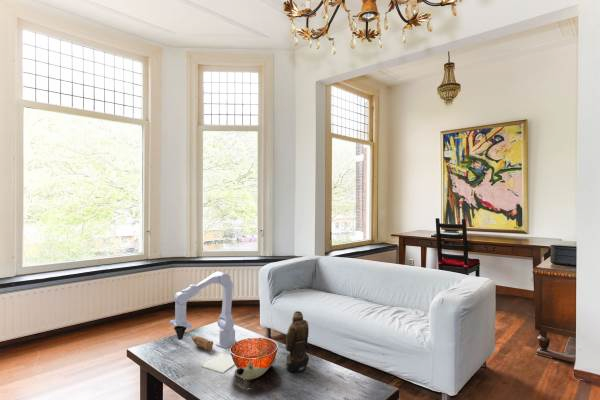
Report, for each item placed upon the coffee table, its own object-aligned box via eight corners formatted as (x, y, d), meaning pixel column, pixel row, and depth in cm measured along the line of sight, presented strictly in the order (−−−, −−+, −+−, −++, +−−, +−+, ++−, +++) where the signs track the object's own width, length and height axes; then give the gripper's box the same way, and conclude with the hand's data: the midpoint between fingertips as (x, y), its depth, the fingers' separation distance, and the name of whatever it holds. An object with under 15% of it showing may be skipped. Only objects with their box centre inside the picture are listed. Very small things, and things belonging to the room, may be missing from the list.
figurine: (213, 351, 197) (196, 353, 205) (216, 336, 202) (200, 339, 210) (201, 347, 192) (185, 349, 200) (205, 332, 197) (189, 335, 205)
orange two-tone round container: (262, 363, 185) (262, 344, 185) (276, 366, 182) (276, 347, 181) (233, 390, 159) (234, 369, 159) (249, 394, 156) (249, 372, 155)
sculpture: (299, 362, 188) (297, 306, 189) (313, 370, 178) (311, 311, 179) (279, 368, 180) (278, 310, 182) (293, 377, 170) (291, 315, 172)
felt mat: (221, 354, 194) (221, 353, 194) (241, 359, 188) (241, 358, 188) (201, 366, 180) (201, 365, 180) (222, 373, 173) (222, 372, 173)
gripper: (165, 314, 188) (165, 339, 188) (185, 319, 182) (184, 344, 182) (175, 310, 194) (175, 334, 195) (194, 314, 188) (194, 339, 188)
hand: (180, 339), depth 189 cm, fingers closed
